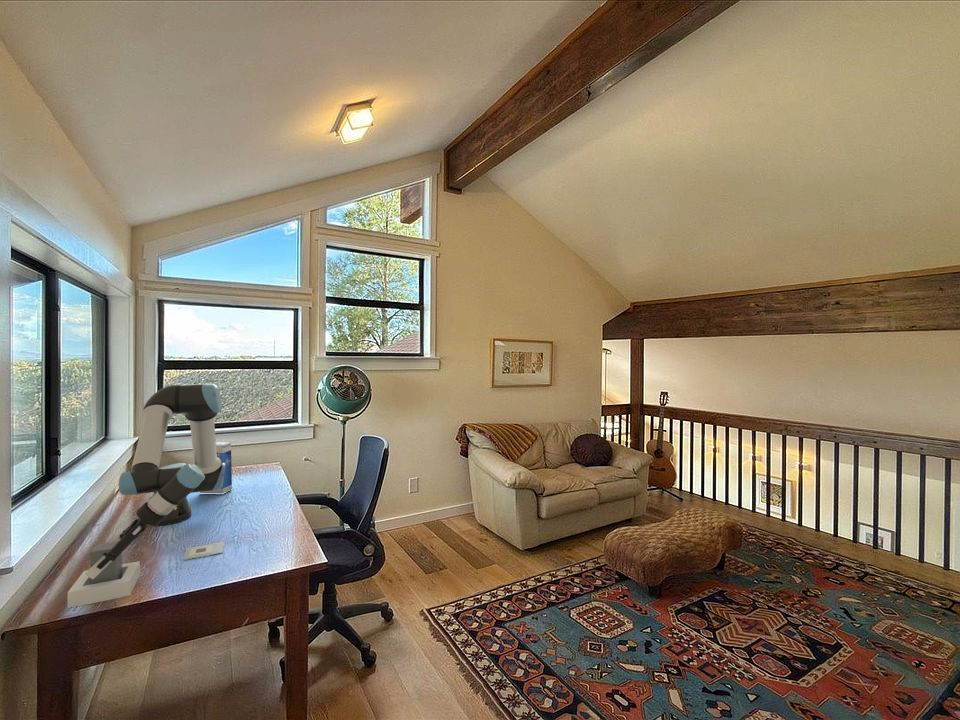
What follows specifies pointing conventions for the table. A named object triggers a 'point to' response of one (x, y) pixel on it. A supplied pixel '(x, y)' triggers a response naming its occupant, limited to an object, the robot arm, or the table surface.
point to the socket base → (104, 587)
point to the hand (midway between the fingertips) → (96, 566)
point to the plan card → (203, 550)
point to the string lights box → (225, 457)
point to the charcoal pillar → (112, 569)
